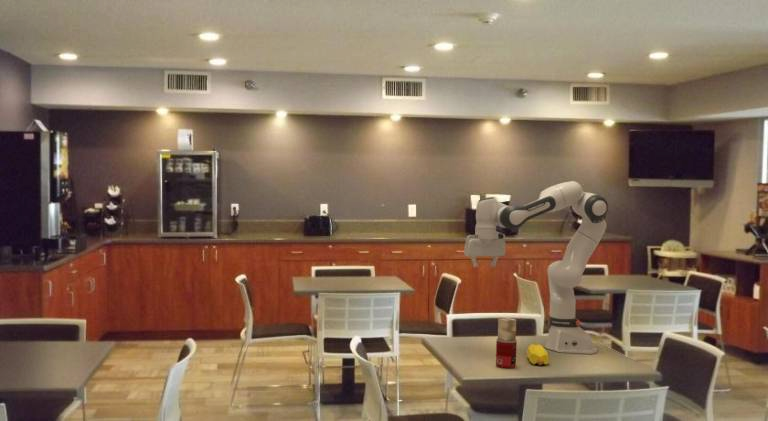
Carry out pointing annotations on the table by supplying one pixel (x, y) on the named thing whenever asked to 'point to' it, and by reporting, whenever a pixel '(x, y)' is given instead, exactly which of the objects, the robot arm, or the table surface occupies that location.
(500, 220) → the robot arm
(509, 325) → the beige cylinder
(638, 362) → the table surface
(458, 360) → the table surface
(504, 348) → the canned food
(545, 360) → the yellow lumpy piece
